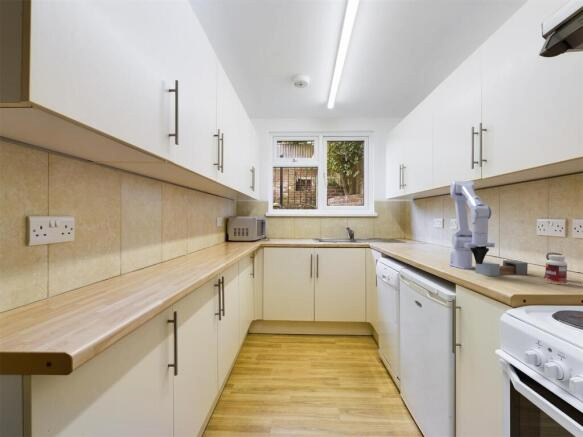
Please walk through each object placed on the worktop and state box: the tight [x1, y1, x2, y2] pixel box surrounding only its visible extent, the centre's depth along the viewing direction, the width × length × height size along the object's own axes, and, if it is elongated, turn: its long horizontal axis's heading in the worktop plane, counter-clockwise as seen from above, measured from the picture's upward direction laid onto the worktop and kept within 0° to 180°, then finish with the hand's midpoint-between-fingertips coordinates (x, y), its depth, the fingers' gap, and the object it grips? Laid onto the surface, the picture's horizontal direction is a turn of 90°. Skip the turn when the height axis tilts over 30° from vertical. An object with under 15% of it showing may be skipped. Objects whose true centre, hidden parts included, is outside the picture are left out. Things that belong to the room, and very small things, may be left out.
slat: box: [499, 265, 517, 276], centre depth 128 cm, size 3×16×4 cm, turn 102°
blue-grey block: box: [474, 260, 501, 277], centre depth 126 cm, size 7×5×5 cm
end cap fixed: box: [502, 259, 529, 276], centre depth 130 cm, size 7×5×5 cm
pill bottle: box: [544, 254, 568, 286], centre depth 111 cm, size 6×6×11 cm
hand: (479, 263), depth 125 cm, fingers closed
